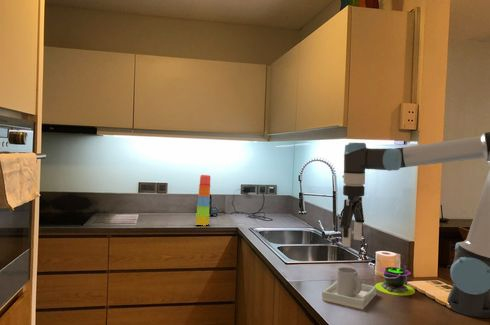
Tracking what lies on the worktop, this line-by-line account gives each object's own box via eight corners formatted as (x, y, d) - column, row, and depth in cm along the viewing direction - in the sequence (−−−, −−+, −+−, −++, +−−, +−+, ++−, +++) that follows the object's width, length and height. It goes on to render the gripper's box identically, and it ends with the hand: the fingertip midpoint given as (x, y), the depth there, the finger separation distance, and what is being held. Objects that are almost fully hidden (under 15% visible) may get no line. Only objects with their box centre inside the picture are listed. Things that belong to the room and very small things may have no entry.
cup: (345, 289, 156) (346, 266, 156) (367, 297, 148) (368, 273, 148) (332, 292, 152) (333, 268, 152) (353, 301, 144) (354, 276, 144)
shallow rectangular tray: (376, 294, 154) (376, 286, 154) (362, 309, 139) (363, 300, 139) (338, 286, 162) (338, 279, 162) (322, 300, 147) (322, 291, 147)
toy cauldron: (369, 282, 169) (370, 255, 169) (406, 283, 169) (407, 256, 169) (381, 295, 154) (383, 266, 154) (421, 296, 154) (422, 267, 154)
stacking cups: (195, 223, 286) (196, 174, 285) (210, 224, 287) (211, 174, 285) (194, 226, 276) (195, 175, 274) (209, 227, 276) (210, 175, 275)
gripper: (354, 182, 162) (352, 235, 163) (332, 186, 141) (330, 247, 141) (373, 183, 158) (371, 238, 159) (353, 187, 137) (351, 251, 137)
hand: (352, 242), depth 150 cm, fingers open, 13 cm apart
